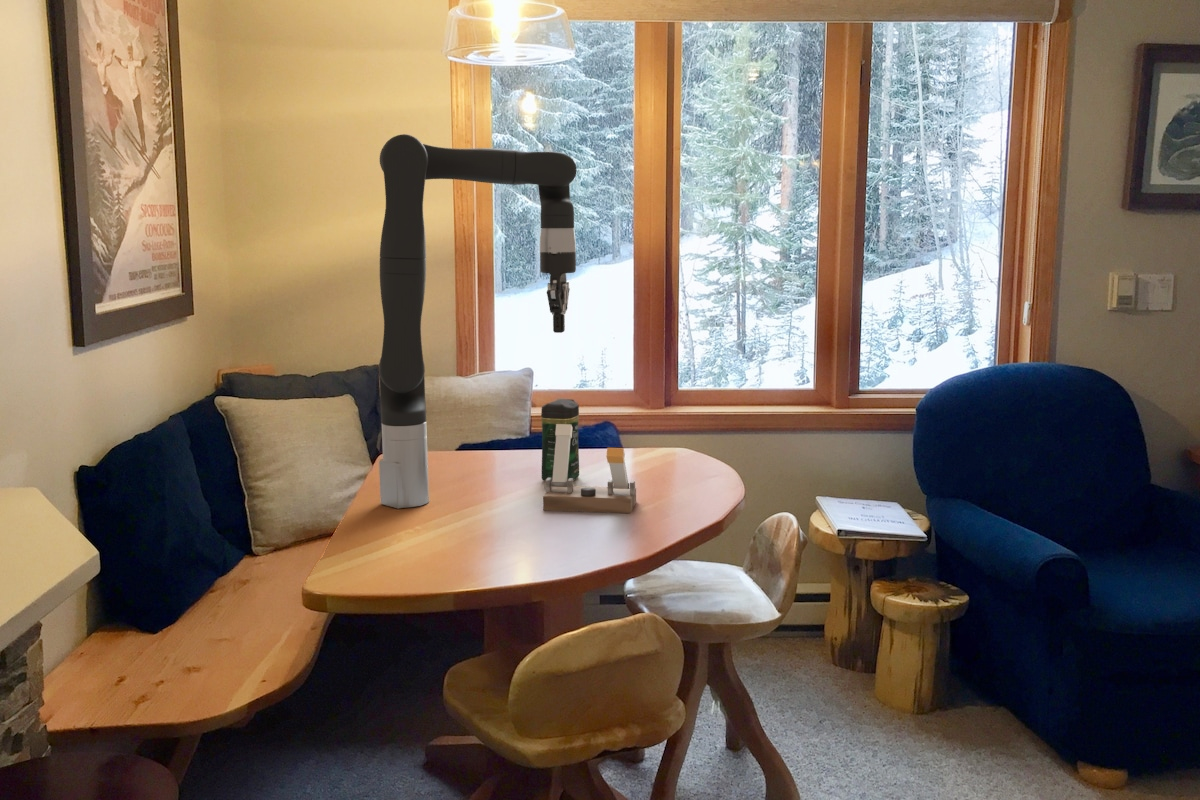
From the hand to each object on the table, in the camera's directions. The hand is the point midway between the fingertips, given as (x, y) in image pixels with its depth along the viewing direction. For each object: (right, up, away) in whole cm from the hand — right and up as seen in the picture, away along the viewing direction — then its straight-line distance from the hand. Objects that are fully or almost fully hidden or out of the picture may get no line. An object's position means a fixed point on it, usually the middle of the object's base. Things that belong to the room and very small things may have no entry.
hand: (559, 332), depth 224 cm
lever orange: (+13, -32, -8) cm, 36 cm away
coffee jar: (0, -33, +17) cm, 37 cm away
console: (+7, -36, -6) cm, 38 cm away
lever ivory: (0, -32, -6) cm, 32 cm away
